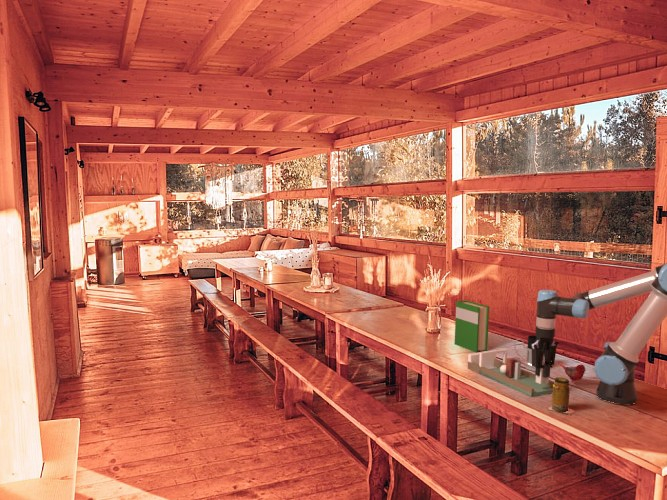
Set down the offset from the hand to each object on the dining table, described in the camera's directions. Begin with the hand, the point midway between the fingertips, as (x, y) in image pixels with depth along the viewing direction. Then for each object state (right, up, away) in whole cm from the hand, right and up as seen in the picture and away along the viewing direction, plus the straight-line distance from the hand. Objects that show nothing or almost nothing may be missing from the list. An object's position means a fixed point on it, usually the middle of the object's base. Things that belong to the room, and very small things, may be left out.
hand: (542, 382), depth 231 cm
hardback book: (-13, +2, +68) cm, 70 cm away
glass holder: (+7, -1, +35) cm, 35 cm away
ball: (-10, +1, +20) cm, 22 cm away
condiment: (+1, -7, -18) cm, 19 cm away
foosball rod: (-3, -2, +7) cm, 8 cm away
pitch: (-8, -3, +17) cm, 19 cm away
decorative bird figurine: (+18, -4, +15) cm, 24 cm away
